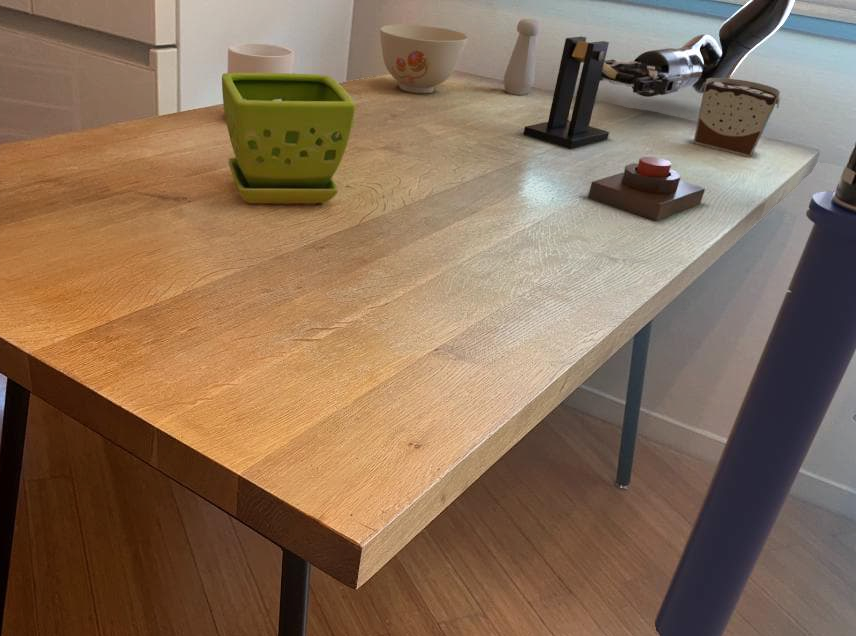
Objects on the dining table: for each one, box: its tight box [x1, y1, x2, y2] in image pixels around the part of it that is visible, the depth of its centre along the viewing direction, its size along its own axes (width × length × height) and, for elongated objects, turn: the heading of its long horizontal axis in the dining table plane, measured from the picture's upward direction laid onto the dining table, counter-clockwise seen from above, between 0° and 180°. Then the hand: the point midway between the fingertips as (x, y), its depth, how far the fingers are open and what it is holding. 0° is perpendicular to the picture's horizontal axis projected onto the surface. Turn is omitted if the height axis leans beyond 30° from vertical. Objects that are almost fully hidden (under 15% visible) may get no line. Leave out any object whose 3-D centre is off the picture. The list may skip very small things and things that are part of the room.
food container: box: [693, 78, 782, 158], centre depth 140 cm, size 12×6×10 cm, turn 48°
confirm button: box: [637, 156, 673, 177], centre depth 113 cm, size 4×4×2 cm
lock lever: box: [572, 41, 633, 85], centre depth 138 cm, size 14×6×2 cm, turn 132°
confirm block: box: [587, 163, 706, 222], centre depth 114 cm, size 12×10×4 cm
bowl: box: [379, 24, 469, 94], centre depth 159 cm, size 16×16×10 cm
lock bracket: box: [522, 35, 610, 150], centre depth 137 cm, size 11×9×15 cm
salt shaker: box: [503, 18, 542, 96], centre depth 163 cm, size 6×6×13 cm
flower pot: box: [221, 72, 356, 206], centre depth 104 cm, size 14×14×13 cm
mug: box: [227, 42, 297, 101], centre depth 134 cm, size 13×10×10 cm
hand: (613, 80), depth 143 cm, fingers open, 8 cm apart
